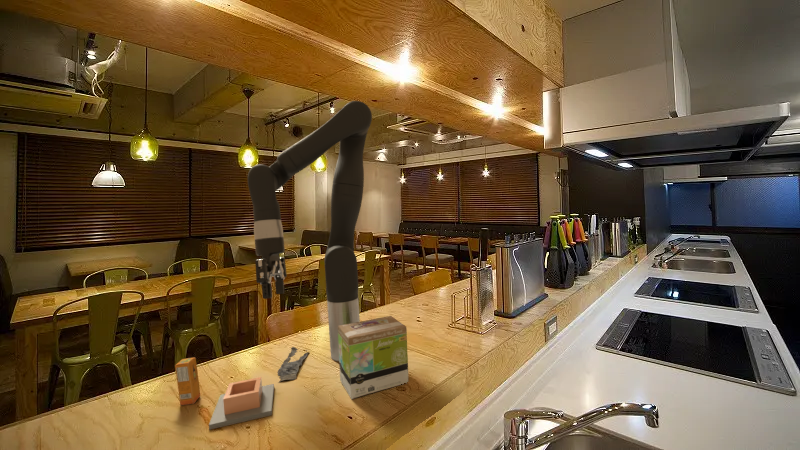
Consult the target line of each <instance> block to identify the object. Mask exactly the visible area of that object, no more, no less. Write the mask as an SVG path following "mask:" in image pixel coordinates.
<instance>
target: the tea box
mask: <svg viewBox="0 0 800 450" xmlns="http://www.w3.org/2000/svg"><path fill="white" fill-rule="evenodd" d="M407 331H408V330H407V326H406V325H405V324H404V323H402V322H401V321H399V320H398V319H396V318H395V317H393V316H392V315H389V316H388V315H387V316H383V317H378V318H372V319H367V320H361V321H360V322H356V323H350V324H345V325H340V326H338V343H339V361H338V362H339V364H338V365H339V379H340V380H339V381H340V382H341V384H342V386H343V387H344V389H345V390H346V393H347V394H348V396H349V397H350V399H351V400H354V399H357V398H359V397H362V396H366V395H368V394H372V393H377V392H380V391H382V390H387V389H390V388H394V387H397V386H401V384H402V385H405V384H404V383H406V384H408V383H409V358H408V357H409V355H408V336H407V335H408V334H407ZM407 382H408V383H407Z"/></svg>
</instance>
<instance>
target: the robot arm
mask: <svg viewBox="0 0 800 450" xmlns="http://www.w3.org/2000/svg"><path fill="white" fill-rule="evenodd" d="M372 119H373V114H372V110H371V108H370V107H369V106H368V104H366V103H365V102H363V101H360V100H352V101H349V102H347V103H346V104H345V105H344V106H343V107H342V108H341V109H340V110H338V111H337V112H336V113H335V114H334V115H332V117H331V118H329V120H327V121H326V122H325V123H324V124H322V125H321V126H319V127H318V128H317V129H316V130H314V131H313V132H311V133H309V134H308V135H306V136H305V137H303V138H302V139H301V140H298V141H297V142H296V143H294V144H292V145H291V146H289V147H288V148H286V149H285V150H283V151H282V152H281V153H279V154H278V155H277V157H276V160H275V161H274V162H273V163H272V164H271V165H269V166H268V165H266V164H262V163H261V164H260V163H259V164H255V165H254V166H252V167H251V168H250V169H249V171H248V173H247V186H248V191H249V195H250V199H251V202H252V207H253V208H252V212H253V222H254V223H253V224H254V225H253V236H254V238H253V239H254V249H255V255H256V256H257V257H258V256H261V258H260V259H259V258H258V259H255V279H256V283H257V284H260V285H261V293H262V299H264V300H267V299H272V298H273V291H272V283H271V282H272V278H274V285H275V294H276V295H281V294H283V295H284V293H285V283H284V280H285V279H286V278H287V276H288V273H287V267H286V258H285V256H280V254H284V253H285V249H286V247H285V240H284V239H285V238H284V228H283V223H282V217H281V216H282V215H281V207H280V203H279V201H278V199H277V194H276V191H278V190H279V189H280V188H281V187H283V186H284V185H285V184H286V183H287V182H288V181H290V180H291V179H292V177H293V176H295V175H296V174H298V173H300V172H301V171H303V170H304V169H306V168H307V167H309V166H310V165H311V164H313V163H314V162H316V161H317V160H318V159H319V158H320V157H321V156H323V155H324V154H325V153H326V152H327V151H328V150H330V149H331V148H332V147H334V146H336V145H337V143H339V149H338V157H337V161H336V163H335V164H336V165H335V169H334V174H333V179H332V187H331V196H330V198H331V199H330V231H329V238H328V242H327V248H326V251H325V255H324V259H323V260H324V272H325V273H324V275H325V288H326V289H325V290H326V291H325V292H326V303H327V316H328V317H327V319H328V331H329V332H328V334H329V347H330V349H329V352H330V358H331V359H332V360H333V361H336V362H339V343H338V326H340V325H345V324H350V323H356V322H361V321H360V306H359V273H358V271H359V269H358V259H357V256H356V254H355V231H356V225H357V221H358V219H359V216H360V212H361V206H362V200H363V196H364V195H363V194H364V184H365V181H364V180H365V175H364V174H365V172H364V151H365V150H364V149H365V145H366V139H367V135H368V131H369V129H370V128H371V124H372Z"/></svg>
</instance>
